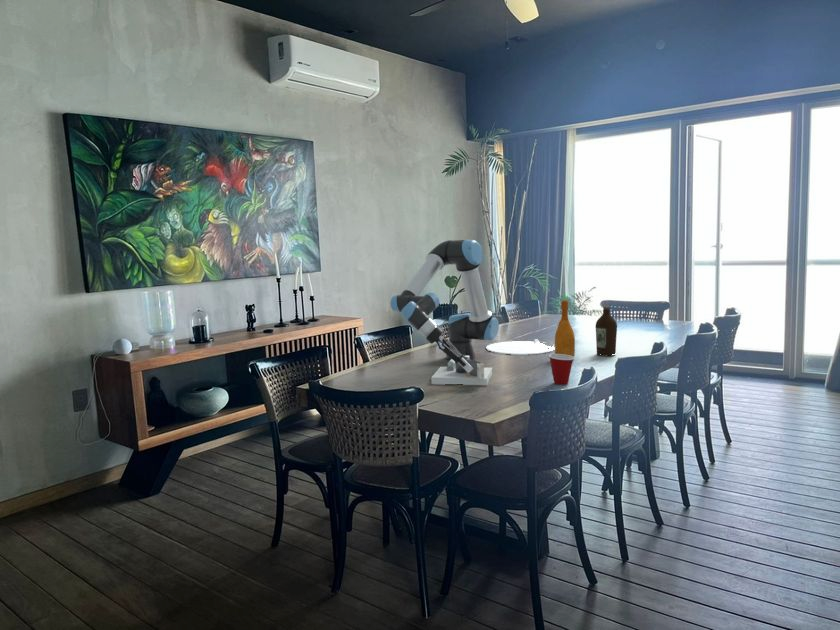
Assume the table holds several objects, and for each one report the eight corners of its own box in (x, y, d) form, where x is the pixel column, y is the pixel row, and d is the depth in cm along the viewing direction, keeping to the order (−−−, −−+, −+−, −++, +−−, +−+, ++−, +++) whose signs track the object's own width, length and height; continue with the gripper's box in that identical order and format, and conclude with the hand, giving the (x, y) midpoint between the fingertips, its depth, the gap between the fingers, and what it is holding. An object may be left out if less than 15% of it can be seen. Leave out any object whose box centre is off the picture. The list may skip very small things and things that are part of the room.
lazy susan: (510, 340, 371) (510, 335, 370) (570, 346, 346) (570, 340, 345) (472, 351, 340) (472, 345, 340) (535, 358, 315) (535, 352, 315)
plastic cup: (575, 386, 254) (576, 358, 252) (549, 386, 255) (549, 357, 254) (573, 380, 264) (573, 353, 263) (548, 380, 266) (548, 353, 265)
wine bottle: (566, 356, 315) (566, 298, 312) (578, 360, 307) (579, 300, 303) (550, 359, 311) (550, 300, 307) (563, 362, 302) (563, 301, 299)
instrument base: (440, 373, 286) (440, 358, 285) (492, 374, 281) (491, 359, 280) (431, 384, 265) (431, 368, 264) (486, 385, 260) (486, 369, 259)
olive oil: (606, 352, 325) (606, 305, 322) (621, 355, 316) (621, 306, 313) (591, 354, 320) (591, 306, 317) (606, 357, 311) (606, 308, 308)
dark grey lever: (453, 370, 275) (452, 355, 274) (466, 369, 278) (465, 353, 277) (475, 380, 256) (474, 363, 255) (488, 378, 258) (488, 362, 257)
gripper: (428, 335, 268) (466, 373, 267) (422, 340, 255) (462, 380, 254) (440, 323, 266) (478, 361, 265) (434, 327, 254) (475, 367, 252)
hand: (470, 370), depth 259 cm, fingers closed
